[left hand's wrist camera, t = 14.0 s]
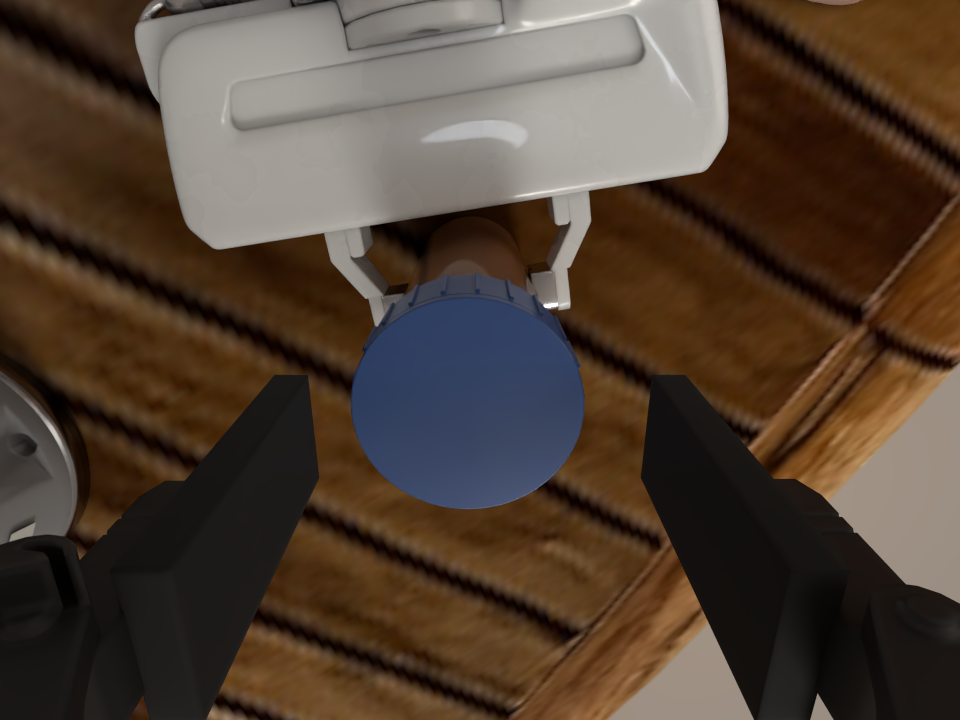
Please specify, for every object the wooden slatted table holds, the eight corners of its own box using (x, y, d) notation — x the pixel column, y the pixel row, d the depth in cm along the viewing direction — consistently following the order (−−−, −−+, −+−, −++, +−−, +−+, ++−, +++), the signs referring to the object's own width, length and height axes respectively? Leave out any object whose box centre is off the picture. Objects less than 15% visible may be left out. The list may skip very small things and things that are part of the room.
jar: (490, 332, 32) (504, 518, 17) (403, 286, 31) (333, 437, 16) (540, 248, 31) (608, 367, 15) (451, 196, 30) (425, 266, 14)
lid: (506, 494, 19) (511, 544, 16) (330, 409, 18) (309, 450, 15) (613, 336, 17) (635, 369, 15) (424, 230, 16) (415, 248, 13)
